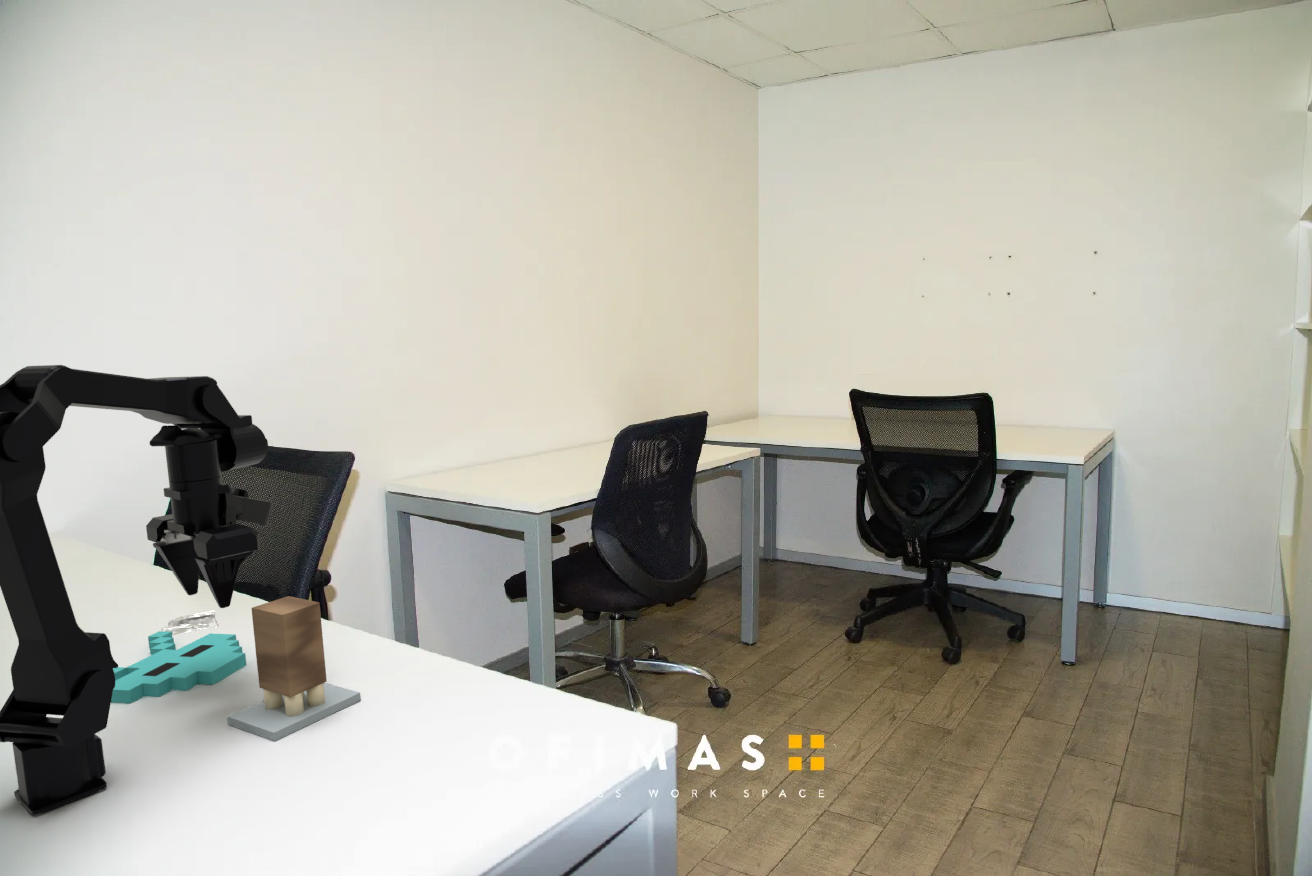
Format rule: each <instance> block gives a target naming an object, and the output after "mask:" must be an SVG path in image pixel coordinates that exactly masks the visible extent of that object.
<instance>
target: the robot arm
mask: <svg viewBox="0 0 1312 876" xmlns="http://www.w3.org/2000/svg"><path fill="white" fill-rule="evenodd" d="M69 407H76V408H77V407H78V408H79V407H80V408H89V409H91V408H92V409H103V410H111V411H112V410H115V411H125V412H126V411H127V412H133V413H136V414H139V415H141V416H142V417H143V418H145V419H148V420H151V421H155V422H158V423H162V424H165V425H162V426H161V428H160V430H159V431H158V432H157V433H156V434H155V435H154V436H152V438H151V439H150V440H149V446H151V447H164V450H165V459H166V468H167V475H168V477H167V478H168V485H169V487H164V488H163V495H164V497H166V498H168V499H169V498H170V504H171V514H166V515H160V516H155V517H152V518H151V519H150V521H148V523H147V524H146V525H145V527H146V529H145V530H146V536H147V538H146V539H147V540H148V541H149V542H150V541H151V542H153V543H152V546H153V548H155V549H156V551H157V552H158V554H159V555H160V556H161V558H162V559H163V561H164V562H165V564H167V566H168V568H169V570H170V571H171V572H172V573H173V575H174V576H175V578H176V580H177V581H178V582H179V584H180V585H181V587H182V589H183V590H184V591H185V593H186V595H188V596H193V595H194V596H195V595H196V594H198V592H199V583H200V582H199V579H200V578H199V577H200V571H201V573H202V575H203V578H204V580H205V582H206V584H207V586H208V589H209V590H210V592H211V594H212V596H213V598H214V600H215V602H216V603H217V605H218V607H219V609H225V608H228V607H230V606H231V602H232V598H233V593H234V590H235V585H236V580H237V576H238V574H239V570H240V567H241V565H242V564H243V563H244V562H245V560H246V559H248V557H251V556H253V555H254V554H255V551H257V550H259V549H261V542H260V541H261V540H260V533H259V532H258V531H257V530H256V529H254V528H252V527H251V526H248V525H244V524H240V523H238V522H237V521H242V522H246V523H252V524H257V525H258V526H262V527H268V524H269V519H270V515H271V511H272V508H273V502H272V501H266V500H262V499H257V498H251V497H250V496H249V493H248V490H247V489H243V488H237V487H233V486H230V484H228V483H225V482H223V481H222V473H221V472H227V471H228V472H229V471H233V470H235V469H241V468H244V467H249V466H253V465H257V464H259V463H261V462H262V461H263V460H264V459H265V457H266V456H267V454H268V449H269V441H268V438H266V435H265V433H264V432H263V431H262V429H261V428H259V426H257V425H255V424H254V423H253V417H252V415H251V414H247V415H245V414H242V415H241V414H240V415H239V414H238V413H237V411H236V410H235V408H234V407H233V406H232V404H231V403H230V402H229V400H228V398H227V397H226V395H225V394H224V392H223V391H222V390H221V388H220V387H219V386H218V381H217V380H216V379H215V378H213V377H212V376H207V375H202V376H200V375H199V376H168V377H167V376H166V377H154V378H151V377H150V378H144V377H138V376H137V377H136V376H129V375H121V374H114V373H106V372H98V371H93V370H92V371H91V370H85V369H77V368H70V367H69V366H66V365H64V364H63V365H62V364H53V365H52V364H51V365H50V364H49V365H27V366H25V367H23V368H21V369H19V370H16V372H15V373H14V374H12V375H11V376H10V377H9V378H7V380H5V381H4V383H2V384H0V589H1V590H0V591H1V593H2V596H3V598H4V601H5V604H6V607H7V611H8V614H9V616H10V619H11V622H12V625H13V628H14V631H15V634H16V636H17V639H18V640H17V641H18V645H17V648H16V651H15V654H14V658H13V660H12V663H11V665H10V666H11V667H10V674H11V681H12V688H13V689H12V691H11V692H10V694H9V696H8V697H7V699H6V701H5V702H4V704H3V706H2V707H1V709H0V743H6V742H7V743H12V750H13V758H14V763H15V764H14V765H15V771H16V779H17V788H18V789H16V790H14V798H15V799H17V800H18V802H19V803H20V804H21V805H22V806H23V807H24V808H25V810H27V812H29V813H30V815H31V816H36V815H39V814H42V813H45V812H47V811H50V810H52V809H55V808H58V807H60V806H63V805H66V804H68V803H70V802H74V801H76V800H79V799H81V798H84V797H86V796H89V795H91V794H95V793H97V792H99V791H102V790H104V789H106V788H107V787H108V784H107V781H106V780H105V779H104V778H103V777H104V776H106V773H107V772H106V764H105V758H104V749H103V748H104V747H103V740H102V738H101V737H100V736H98V735H97V733H99V732H101V731H102V730H105V729H106V728H107V726H108V721H109V715H110V710H111V703H112V702H111V699H112V693H113V689H114V688H115V681H116V680H115V673H114V670H113V668H118V667H119V664H118V663H117V662H116V661H115V660H114V657H113V655H112V651H111V645H110V640H109V638H108V636H107V634H106V633H104V632H102V633H101V632H88V631H87V632H85V631H84V630H83V629H82V628H81V627H80V626H79V624H78V623H77V620H76V619H77V618H76V617H75V613H74V610H73V607H72V604H71V601H70V598H69V595H68V591H67V587H66V586H65V582H64V579H63V575H62V572H61V569H60V566H59V563H58V560H57V557H56V553H55V550H54V547H53V544H52V541H51V537H50V534H49V531H48V528H47V526H46V521H45V518H44V516H43V512H42V510H41V506H40V502H39V499H38V492H39V489H40V487H41V485H42V481H43V478H44V475H45V472H46V468H47V467H46V459H45V452H44V446H45V445H46V444H47V443H49V441H50V440H51V439H52V438H53V437H54V436H55V435H56V434H57V433H58V432H59V431H60V429H61V428H62V424H63V421H64V418H65V414H66V410H67V409H68V408H69ZM47 715H48V716H47ZM49 715H50V716H49ZM51 715H52V716H63V717H52V716H51Z"/></svg>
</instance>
